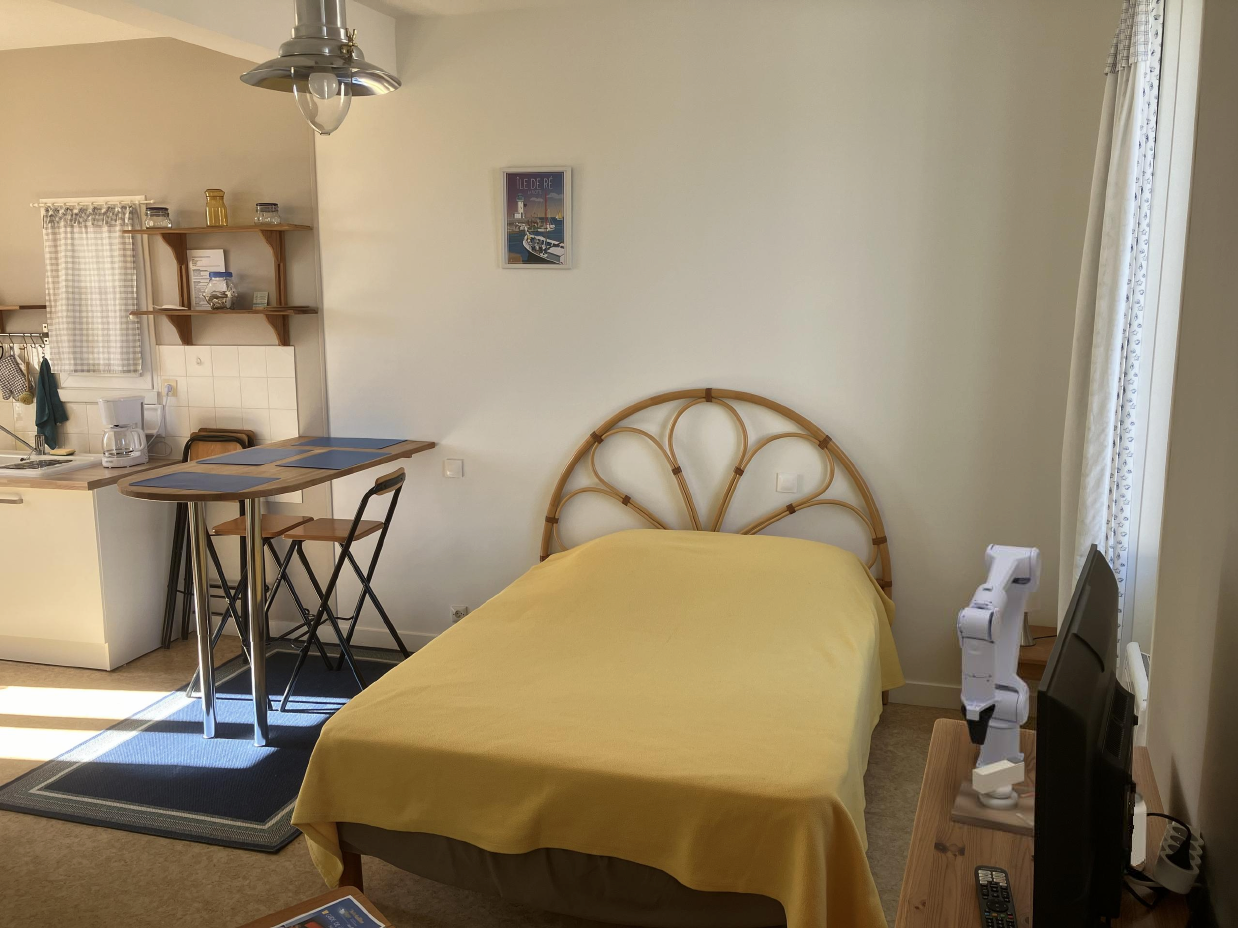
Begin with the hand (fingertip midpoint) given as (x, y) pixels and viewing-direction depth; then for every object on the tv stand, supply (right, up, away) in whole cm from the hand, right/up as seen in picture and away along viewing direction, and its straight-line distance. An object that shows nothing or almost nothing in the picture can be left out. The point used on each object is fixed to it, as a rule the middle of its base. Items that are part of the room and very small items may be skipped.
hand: (978, 742), depth 176 cm
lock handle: (+2, -8, -4) cm, 9 cm away
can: (+15, -13, -23) cm, 30 cm away
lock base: (+2, -11, -4) cm, 12 cm away
